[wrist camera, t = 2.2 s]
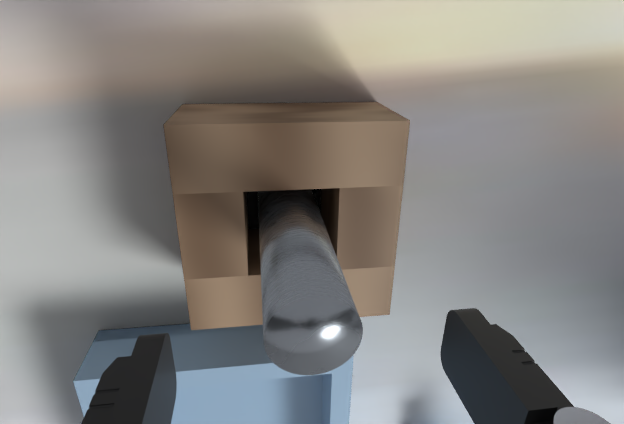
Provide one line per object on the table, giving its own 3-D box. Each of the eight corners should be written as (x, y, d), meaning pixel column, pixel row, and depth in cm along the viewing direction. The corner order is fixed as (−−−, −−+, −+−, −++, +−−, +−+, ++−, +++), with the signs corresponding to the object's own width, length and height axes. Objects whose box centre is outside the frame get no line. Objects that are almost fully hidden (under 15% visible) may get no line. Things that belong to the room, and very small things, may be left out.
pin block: (377, 101, 22) (410, 120, 17) (365, 264, 26) (389, 314, 21) (182, 104, 21) (163, 125, 16) (202, 274, 25) (191, 330, 20)
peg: (311, 167, 23) (365, 291, 12) (310, 216, 24) (359, 370, 13) (256, 168, 22) (261, 299, 12) (258, 218, 24) (265, 379, 13)
